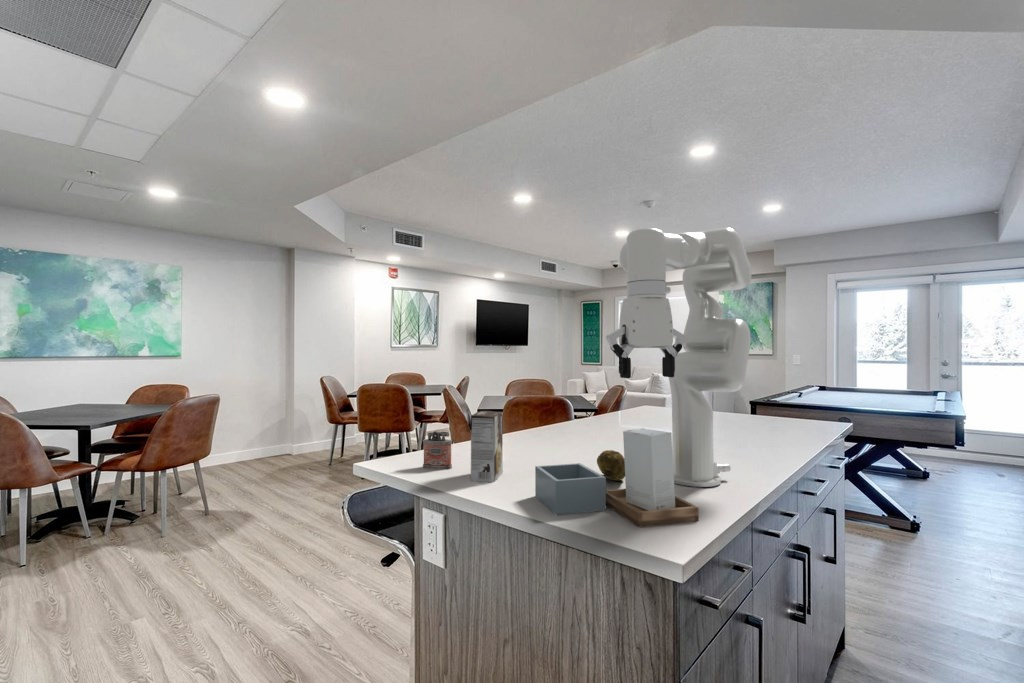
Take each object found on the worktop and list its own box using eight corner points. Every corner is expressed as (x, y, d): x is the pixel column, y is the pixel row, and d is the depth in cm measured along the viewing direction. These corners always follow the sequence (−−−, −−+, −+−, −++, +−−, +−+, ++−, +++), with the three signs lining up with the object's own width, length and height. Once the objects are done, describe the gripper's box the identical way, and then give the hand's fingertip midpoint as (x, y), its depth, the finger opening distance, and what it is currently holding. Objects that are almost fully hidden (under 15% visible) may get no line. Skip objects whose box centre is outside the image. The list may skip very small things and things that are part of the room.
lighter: (421, 468, 128) (421, 431, 129) (425, 465, 132) (425, 429, 132) (449, 469, 127) (449, 432, 127) (453, 466, 130) (453, 430, 131)
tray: (654, 497, 102) (654, 486, 102) (698, 520, 88) (698, 507, 88) (601, 502, 99) (601, 490, 99) (638, 527, 85) (638, 513, 85)
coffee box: (479, 471, 125) (479, 410, 125) (503, 473, 124) (503, 411, 124) (469, 480, 116) (469, 414, 116) (495, 482, 115) (495, 415, 115)
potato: (635, 476, 120) (635, 445, 120) (622, 489, 108) (622, 454, 109) (603, 472, 124) (603, 442, 124) (587, 485, 112) (587, 451, 113)
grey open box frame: (580, 492, 106) (580, 463, 107) (605, 510, 94) (605, 477, 94) (535, 496, 104) (535, 466, 104) (555, 515, 91) (555, 481, 92)
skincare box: (676, 509, 91) (675, 432, 92) (652, 514, 89) (652, 435, 89) (645, 498, 99) (644, 426, 99) (622, 502, 96) (622, 428, 97)
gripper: (672, 295, 101) (673, 375, 100) (598, 293, 96) (599, 377, 96) (695, 290, 94) (696, 377, 93) (616, 288, 89) (617, 379, 89)
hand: (647, 377), depth 95 cm, fingers open, 9 cm apart
